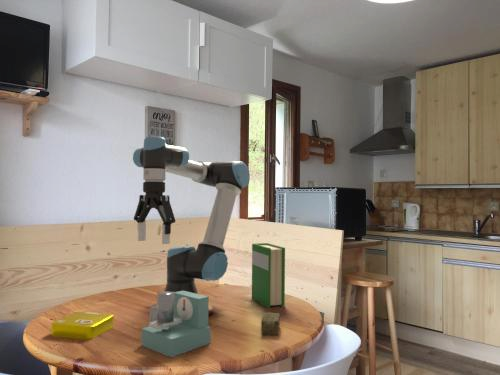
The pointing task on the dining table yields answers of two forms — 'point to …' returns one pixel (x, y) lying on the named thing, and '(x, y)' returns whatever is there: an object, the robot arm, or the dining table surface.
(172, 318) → the cylinder
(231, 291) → the dining table surface
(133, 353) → the dining table surface
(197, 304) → the scale body
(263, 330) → the stone block
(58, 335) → the element tile
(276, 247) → the hardback book
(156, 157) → the robot arm
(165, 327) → the platform
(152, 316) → the cylinder
